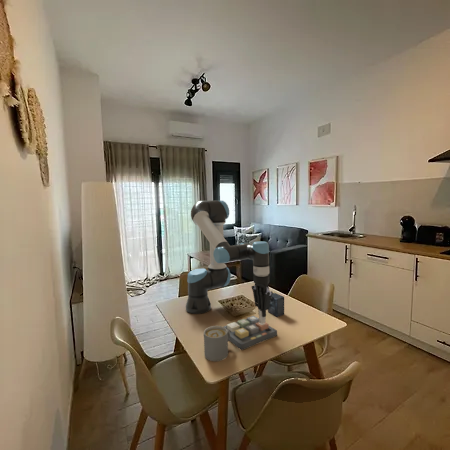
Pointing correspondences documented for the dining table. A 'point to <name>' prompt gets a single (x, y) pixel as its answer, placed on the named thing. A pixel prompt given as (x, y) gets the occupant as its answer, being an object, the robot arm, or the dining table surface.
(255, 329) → the key charcoal
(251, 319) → the key slate
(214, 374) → the dining table surface
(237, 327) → the key cream
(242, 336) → the key ochre
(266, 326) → the key terracotta
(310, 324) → the dining table surface
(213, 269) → the robot arm
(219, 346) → the coffee mug
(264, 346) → the dining table surface
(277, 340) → the dining table surface
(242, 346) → the keypad board
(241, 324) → the key sage
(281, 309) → the box
